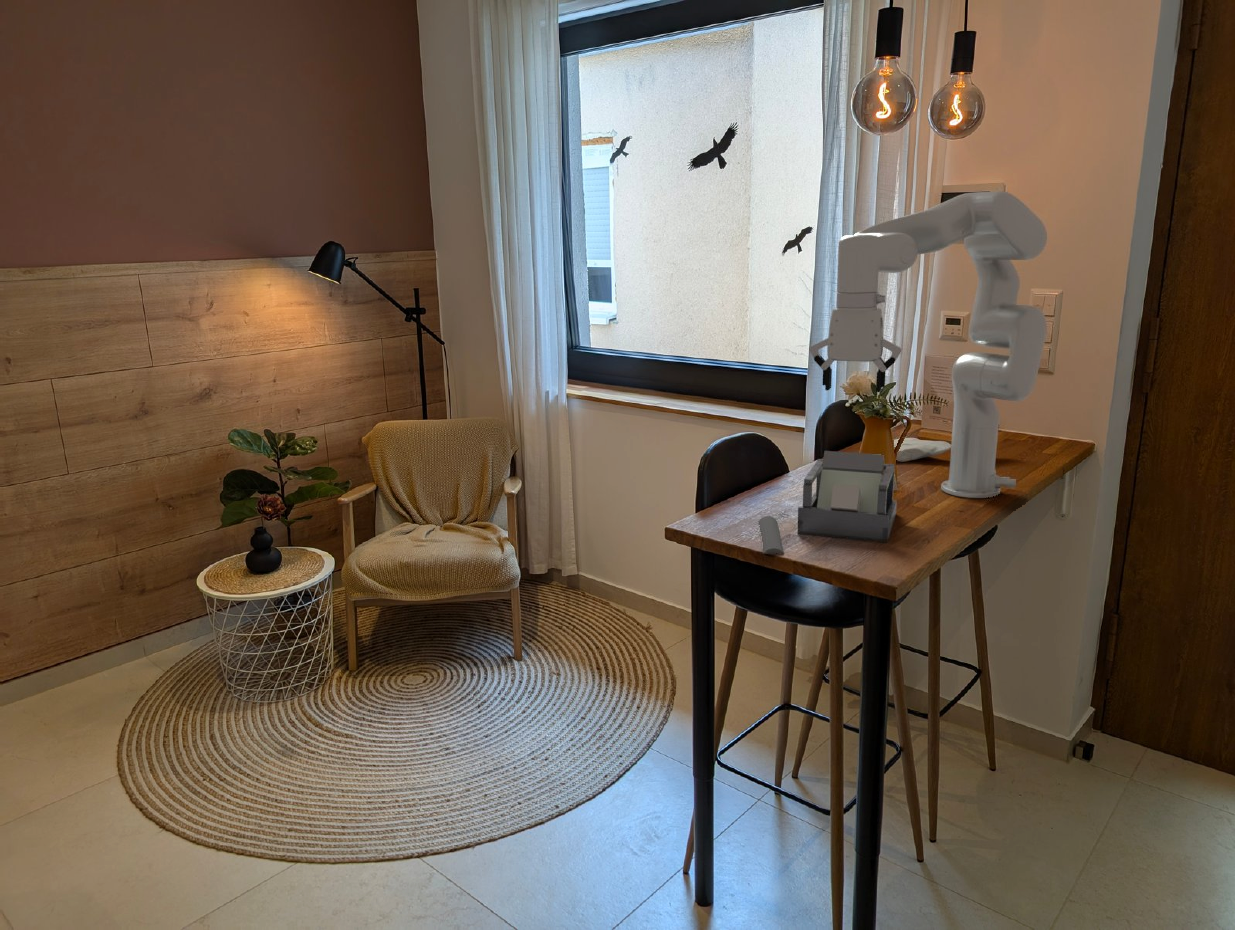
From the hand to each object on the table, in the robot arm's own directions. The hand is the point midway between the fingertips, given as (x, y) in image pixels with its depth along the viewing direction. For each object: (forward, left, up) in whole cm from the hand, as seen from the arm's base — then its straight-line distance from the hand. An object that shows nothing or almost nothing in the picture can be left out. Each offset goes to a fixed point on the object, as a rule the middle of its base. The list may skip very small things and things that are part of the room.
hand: (853, 390), depth 174 cm
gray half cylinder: (+13, +11, -29) cm, 34 cm away
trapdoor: (0, -5, -21) cm, 22 cm away
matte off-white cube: (0, +1, -24) cm, 24 cm away
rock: (-6, -61, -29) cm, 68 cm away
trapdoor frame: (0, -2, -28) cm, 28 cm away
